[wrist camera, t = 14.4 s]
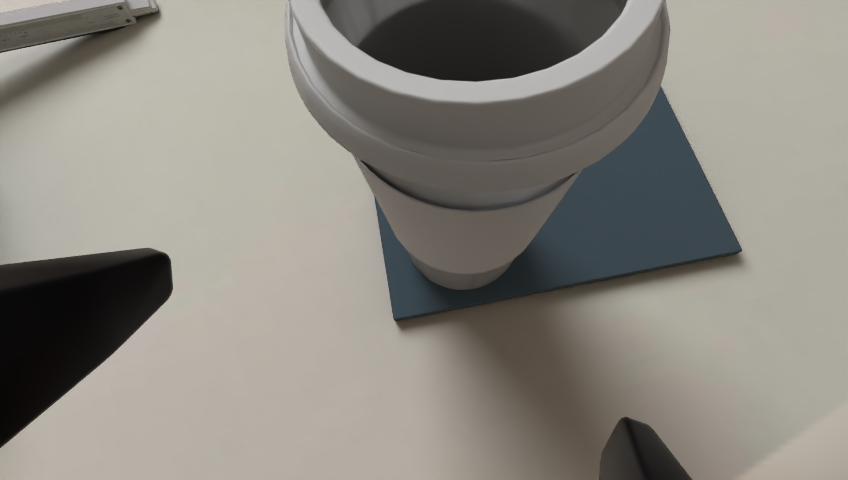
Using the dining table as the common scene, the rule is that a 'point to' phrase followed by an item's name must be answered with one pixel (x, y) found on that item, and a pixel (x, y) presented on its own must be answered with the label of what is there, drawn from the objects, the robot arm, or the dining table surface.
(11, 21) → the caliper
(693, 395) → the dining table surface
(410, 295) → the mat
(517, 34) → the cup
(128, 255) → the robot arm
